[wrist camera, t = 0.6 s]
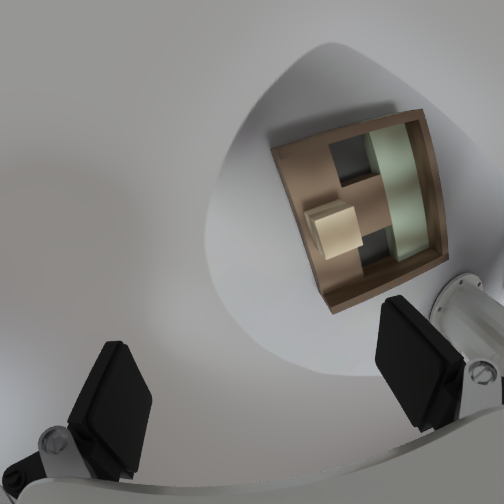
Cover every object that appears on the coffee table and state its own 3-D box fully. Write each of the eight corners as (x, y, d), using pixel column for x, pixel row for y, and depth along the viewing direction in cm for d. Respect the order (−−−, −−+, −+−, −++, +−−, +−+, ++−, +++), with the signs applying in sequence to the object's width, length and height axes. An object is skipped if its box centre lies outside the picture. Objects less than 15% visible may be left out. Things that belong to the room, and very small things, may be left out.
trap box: (424, 245, 34) (448, 259, 29) (318, 291, 35) (332, 314, 30) (396, 112, 28) (422, 108, 23) (270, 149, 29) (279, 148, 24)
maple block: (348, 233, 30) (363, 244, 26) (314, 246, 30) (326, 259, 27) (338, 199, 29) (353, 206, 25) (303, 211, 29) (314, 221, 25)
